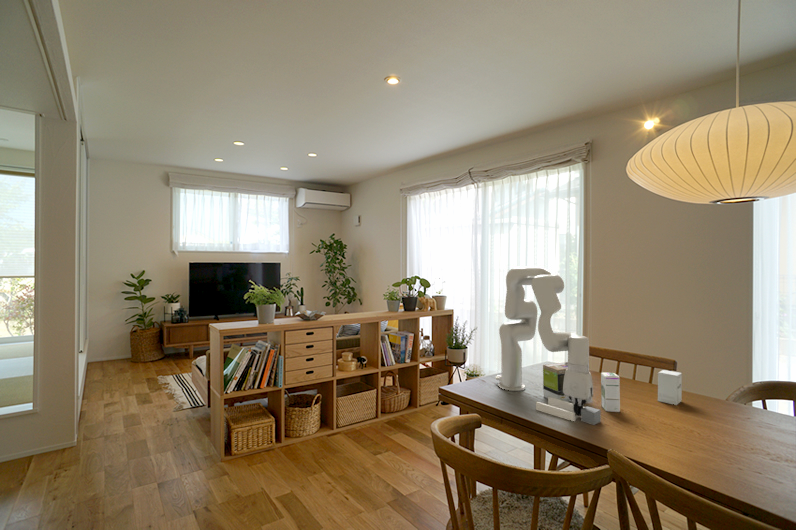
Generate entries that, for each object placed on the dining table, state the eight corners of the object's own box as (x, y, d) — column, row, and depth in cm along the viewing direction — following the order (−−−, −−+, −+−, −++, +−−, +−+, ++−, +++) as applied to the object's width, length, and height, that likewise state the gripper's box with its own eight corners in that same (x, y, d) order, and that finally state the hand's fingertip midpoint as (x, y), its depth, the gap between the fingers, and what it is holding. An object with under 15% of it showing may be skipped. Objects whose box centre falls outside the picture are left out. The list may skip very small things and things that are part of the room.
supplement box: (677, 405, 170) (677, 375, 169) (657, 401, 175) (657, 372, 175) (682, 401, 174) (682, 372, 174) (662, 397, 180) (662, 369, 180)
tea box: (569, 393, 186) (569, 361, 186) (586, 400, 176) (586, 366, 176) (542, 396, 181) (542, 363, 181) (557, 404, 172) (557, 369, 172)
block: (581, 420, 153) (581, 409, 153) (587, 417, 156) (587, 406, 156) (594, 425, 149) (594, 413, 149) (600, 421, 152) (600, 409, 152)
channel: (535, 409, 165) (535, 402, 165) (549, 404, 171) (549, 396, 171) (573, 421, 152) (573, 413, 152) (586, 415, 159) (586, 407, 159)
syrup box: (620, 412, 162) (620, 376, 162) (604, 411, 163) (604, 375, 163) (615, 407, 167) (615, 372, 167) (600, 406, 169) (600, 371, 169)
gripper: (555, 365, 160) (555, 411, 160) (593, 373, 148) (592, 423, 148) (565, 362, 164) (564, 407, 165) (602, 370, 153) (602, 418, 153)
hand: (578, 414), depth 156 cm, fingers closed
